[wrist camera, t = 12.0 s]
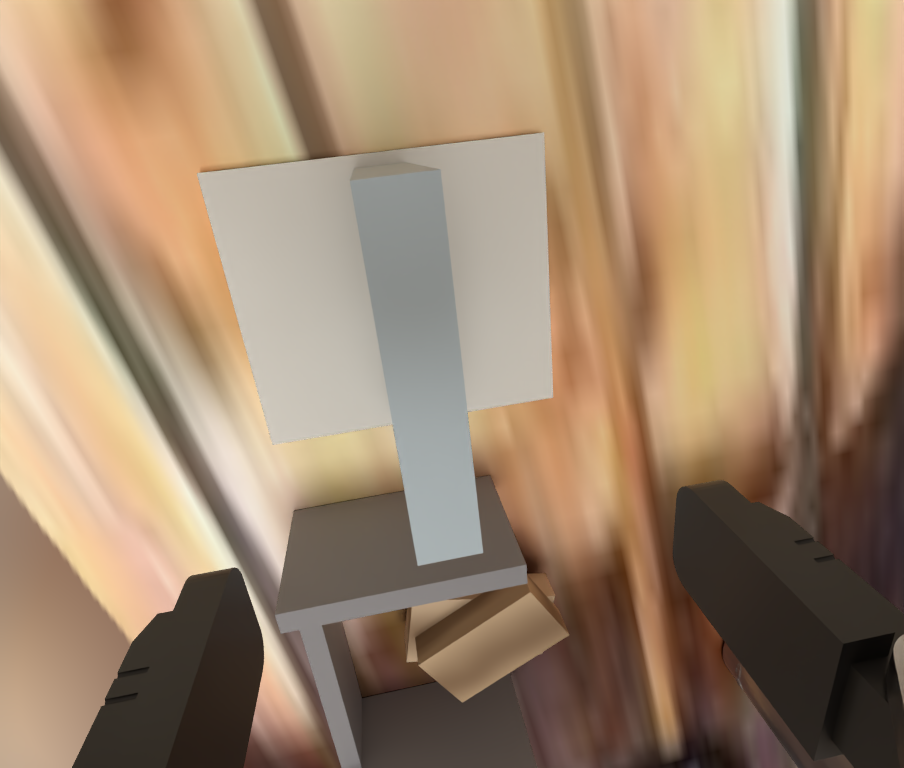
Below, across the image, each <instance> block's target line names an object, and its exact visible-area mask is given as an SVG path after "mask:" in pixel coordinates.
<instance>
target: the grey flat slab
mask: <svg viewBox="0 0 904 768" xmlns="http://www.w3.org/2000/svg"><path fill="white" fill-rule="evenodd" d="M350 185H351V191H352V197H353V202H354V208H355V214H356V219H357V225H358V231H359V236H360V242H361V248H362V253H363V259H364V265H365V270H366V276H367V282H368V287H369V293H370V299H371V304H372V310H373V316H374V321H375V327H376V333H377V338H378V344H379V350H380V355H381V361H382V367H383V372H384V378H385V384H386V389H387V395H388V401H389V406H390V412H391V418H392V423H393V429H394V435H395V440H396V446H397V452H398V457H399V463H400V469H401V474H402V480H403V486H404V491H405V497H406V503H407V508H408V514H409V520H410V525H411V531H412V536H413V542H414V548H415V553H416V559H417V565H418V566H420V565H425V564H430V563H435V562H440V561H445V560H450V559H455V558H460V557H465V556H471V555H476V554H481V553H483V547H482V538H481V529H480V520H479V511H478V502H477V493H476V484H475V475H474V466H473V457H472V448H471V439H470V430H469V421H468V412H467V403H466V394H465V385H464V376H463V367H462V358H461V349H460V340H459V331H458V322H457V313H456V304H455V295H454V286H453V277H452V268H451V259H450V250H449V241H448V232H447V223H446V214H445V205H444V196H443V187H442V178H441V169H437V168H432V167H427V166H422V165H417V164H412V163H407V162H403V163H394V164H386V165H378V166H370V167H362V168H354V170H353V173H352V175H351V178H350Z"/></svg>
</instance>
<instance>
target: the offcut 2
mask: <svg viewBox="0 0 904 768" xmlns="http://www.w3.org/2000/svg"><path fill="white" fill-rule="evenodd" d="M527 581H528V583H527V584H522V585H518V586H513V587H508V588H503V589H498V590H493V591H488V592H483V593H482V594H480V595H479V596H477V597H476V598H474V599H473V600H471V601H470V602H468V603H467V604H465V605H464V606H462V607H461V608H459V609H458V610H456V611H455V612H453V613H452V614H450V615H449V616H447V617H446V618H444V619H443V620H441V621H440V622H438V623H437V624H435V625H433V626H432V627H430V628H429V629H427V630H426V631H424V632H423V633H421V634H420V635H418V636H417V637H415V641H416V650H417V659H418V666H420V667H421V668H422V669H423V670H424V671H425V672H427V673H428V674H429V675H430V676H431V677H433V678H434V679H435V680H436V681H437V682H438V683H440V684H441V685H442V686H443V687H444V688H446V689H447V690H448V691H449V692H450V693H451V694H453V695H454V696H455V697H456V698H457V699H458V700H460V701H461V702H462V703H463V702H464V701H466V700H468V699H469V698H471V697H472V696H474V695H475V694H477V693H479V692H480V691H482V690H483V689H485V688H486V687H488V686H490V685H491V684H493V683H494V682H496V681H497V680H499V679H501V678H502V677H504V676H505V675H507V674H509V673H510V672H512V671H513V670H515V669H516V668H518V667H520V666H521V665H523V664H524V663H526V662H527V661H529V660H531V659H532V658H534V657H535V656H537V655H538V654H540V653H542V652H543V651H545V650H546V649H548V648H549V647H551V646H553V645H554V644H556V643H557V642H559V641H560V640H562V639H564V638H565V637H567V636H568V635H569V633H568V630H567V628H566V626H565V623H564V621H563V619H562V617H561V614H560V612H559V610H558V608H557V607H556V606H555V605H554V604H553V603H552V602H551V601H550V599H549V598H548V597H547V596H546V595H545V594H544V593H543V592H542V591H541V589H540V588H539V587H538V586H537V585H536V584H535V583H534V582H533V581H532V579H531V578H530V577H529V576H528V575H527Z"/></svg>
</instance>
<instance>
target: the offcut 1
mask: <svg viewBox="0 0 904 768" xmlns="http://www.w3.org/2000/svg"><path fill="white" fill-rule="evenodd" d="M527 575H528V576H529V577H530V578H531V579H532V581H533V582H534V583H535V584H536V585H537V586H538V587H539V588H540V589H541V591H542V592H543V593H544V594H545V595H546V596H547V597H548V598H549V599H550V601H551V602H552V603H554V598H555V594H554V592H553V590H552V588H551V585H550V583H549V581H548V578H547V576H546V574H545V573H536V574H527ZM480 594H482V593H478V594H473V595H468V596H463V597H458V598H454V599H449V600H444V601H439V602H434V603H429V604H424V605H419V606H414V607H409V608H407V613H406V624H405V636H404V637H405V648H406V659H407V662H417V661H418V659H417V650H416V641H415V637H417V636H418V635H420V634H421V633H423V632H424V631H426V630H427V629H429V628H430V627H432V626H433V625H435V624H437V623H438V622H440V621H441V620H443V619H444V618H446V617H447V616H449V615H450V614H452V613H453V612H455V611H456V610H458V609H459V608H461V607H462V606H464V605H465V604H467V603H468V602H470V601H471V600H473V599H474V598H476V597H477V596H479V595H480ZM540 654H542V653H540Z"/></svg>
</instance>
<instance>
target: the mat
mask: <svg viewBox="0 0 904 768" xmlns="http://www.w3.org/2000/svg"><path fill="white" fill-rule="evenodd" d="M403 162H407V163H412V164H417V165H422V166H427V167H432V168H437V169H441V178H442V187H443V196H444V205H445V214H446V223H447V232H448V241H449V250H450V259H451V268H452V277H453V286H454V295H455V304H456V313H457V322H458V331H459V340H460V349H461V358H462V367H463V376H464V385H465V394H466V403H467V412H471V411H477V410H483V409H488V408H494V407H500V406H506V405H512V404H518V403H524V402H530V401H536V400H542V399H548V398H553V378H552V349H551V320H550V290H549V261H548V231H547V202H546V173H545V143H544V133H535V134H527V135H518V136H510V137H501V138H493V139H484V140H476V141H467V142H459V143H450V144H442V145H433V146H425V147H416V148H408V149H399V150H391V151H382V152H374V153H365V154H357V155H348V156H340V157H331V158H323V159H314V160H306V161H297V162H289V163H280V164H272V165H263V166H255V167H246V168H238V169H229V170H221V171H212V172H203V173H197V176H198V180H199V184H200V187H201V191H202V194H203V198H204V201H205V205H206V209H207V212H208V216H209V219H210V223H211V226H212V230H213V234H214V237H215V241H216V244H217V248H218V251H219V255H220V259H221V262H222V266H223V269H224V273H225V276H226V280H227V284H228V287H229V291H230V294H231V298H232V301H233V305H234V309H235V312H236V316H237V319H238V323H239V327H240V330H241V334H242V337H243V341H244V344H245V348H246V352H247V355H248V359H249V362H250V366H251V369H252V373H253V377H254V380H255V384H256V387H257V391H258V394H259V398H260V402H261V405H262V409H263V412H264V416H265V419H266V423H267V427H268V430H269V434H270V437H271V441H272V444H273V445H275V444H281V443H287V442H293V441H299V440H305V439H311V438H316V437H322V436H328V435H334V434H340V433H346V432H352V431H358V430H364V429H370V428H376V427H382V426H388V425H393V423H392V418H391V412H390V406H389V401H388V395H387V389H386V384H385V378H384V372H383V367H382V361H381V355H380V350H379V344H378V338H377V333H376V327H375V321H374V316H373V310H372V304H371V299H370V293H369V287H368V282H367V276H366V270H365V265H364V259H363V253H362V248H361V242H360V236H359V231H358V225H357V219H356V214H355V208H354V202H353V197H352V191H351V185H350V178H351V175H352V173H353V170H354V168H362V167H370V166H378V165H386V164H394V163H403Z"/></svg>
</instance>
